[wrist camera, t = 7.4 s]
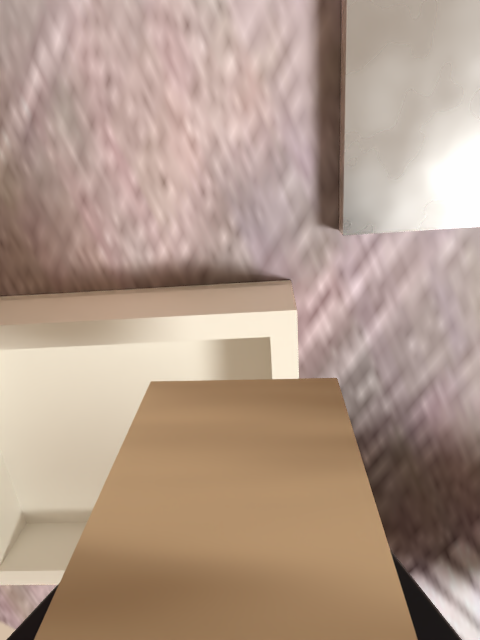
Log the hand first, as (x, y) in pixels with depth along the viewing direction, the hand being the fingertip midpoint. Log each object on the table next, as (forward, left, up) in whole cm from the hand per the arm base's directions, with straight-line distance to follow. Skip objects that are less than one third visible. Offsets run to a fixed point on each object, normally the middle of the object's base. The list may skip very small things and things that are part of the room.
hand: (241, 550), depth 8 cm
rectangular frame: (+6, +6, -12) cm, 15 cm away
